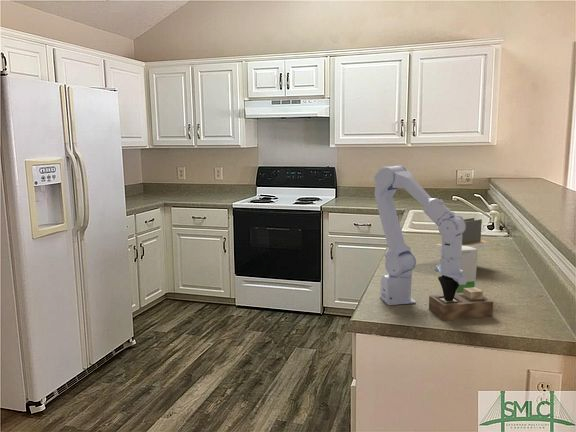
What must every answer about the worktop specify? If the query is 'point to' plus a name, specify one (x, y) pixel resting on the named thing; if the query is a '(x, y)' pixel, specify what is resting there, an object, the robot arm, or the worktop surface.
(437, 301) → the walnut block
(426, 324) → the worktop surface
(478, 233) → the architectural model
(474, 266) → the skincare box
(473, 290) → the peg
